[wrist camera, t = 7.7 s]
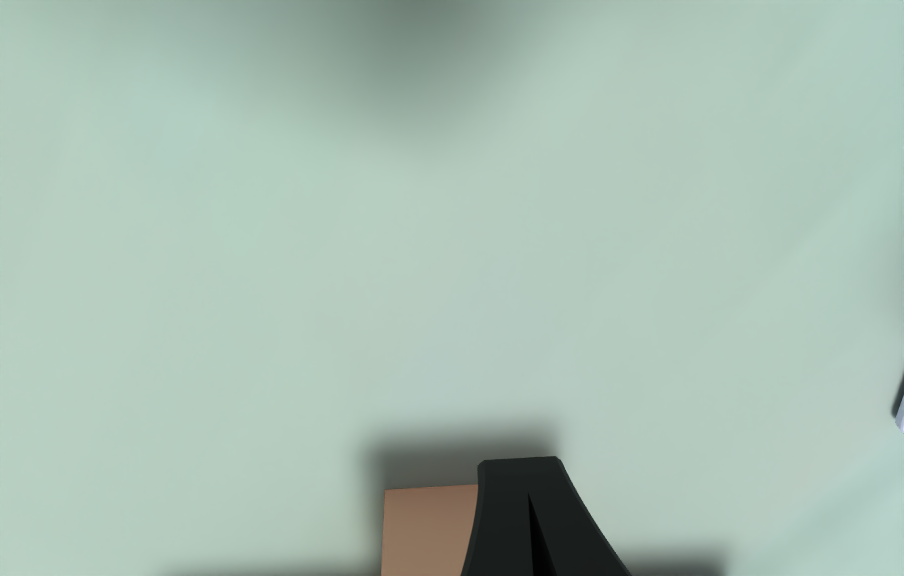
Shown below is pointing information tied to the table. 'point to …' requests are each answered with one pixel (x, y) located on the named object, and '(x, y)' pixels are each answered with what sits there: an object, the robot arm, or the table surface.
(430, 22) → the table surface
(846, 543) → the table surface
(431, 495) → the terracotta block
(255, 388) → the table surface
